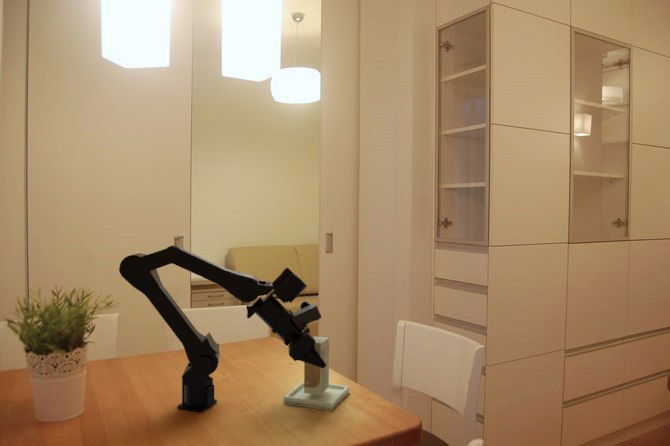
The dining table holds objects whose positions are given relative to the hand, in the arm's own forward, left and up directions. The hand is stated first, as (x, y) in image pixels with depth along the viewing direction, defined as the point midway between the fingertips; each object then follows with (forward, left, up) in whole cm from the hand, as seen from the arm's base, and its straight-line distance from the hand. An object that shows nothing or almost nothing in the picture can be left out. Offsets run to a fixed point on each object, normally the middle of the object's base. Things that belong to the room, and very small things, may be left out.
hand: (322, 361), depth 112 cm
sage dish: (-1, -1, -9) cm, 9 cm away
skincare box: (-1, -1, -7) cm, 7 cm away
